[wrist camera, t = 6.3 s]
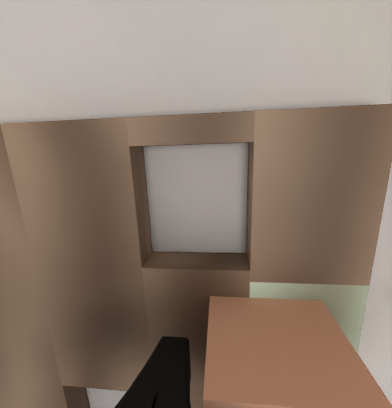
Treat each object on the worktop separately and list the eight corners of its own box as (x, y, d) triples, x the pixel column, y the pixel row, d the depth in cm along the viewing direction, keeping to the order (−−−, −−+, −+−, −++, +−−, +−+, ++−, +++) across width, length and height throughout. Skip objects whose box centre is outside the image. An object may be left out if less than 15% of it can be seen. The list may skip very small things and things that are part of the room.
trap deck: (-52, 415, 16) (-80, 442, 14) (-169, 136, 11) (-227, 135, 10) (319, 457, 13) (331, 495, 12) (370, 110, 8) (401, 103, 7)
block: (211, 378, 11) (206, 511, 7) (209, 295, 9) (202, 399, 6) (311, 386, 10) (368, 535, 6) (322, 300, 9) (399, 416, 5)
